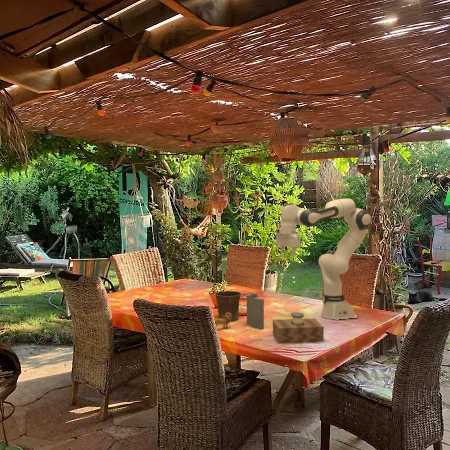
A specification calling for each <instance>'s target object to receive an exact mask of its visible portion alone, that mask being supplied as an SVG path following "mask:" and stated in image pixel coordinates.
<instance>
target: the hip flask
mask: <svg viewBox="0 0 450 450" xmlns="http://www.w3.org/2000/svg"><path fill="white" fill-rule="evenodd" d="M264 301H265V298H261V297H258V292H254V291H253V292H250V293H247V294H246V324H247V325H248V326H250V327H252V328H254V329H257V330H260V331H261V330H264V329H265V314H264V313H265V302H264Z"/></svg>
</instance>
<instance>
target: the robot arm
mask: <svg viewBox="0 0 450 450" xmlns="http://www.w3.org/2000/svg"><path fill="white" fill-rule="evenodd" d="M280 212H281V213H280V221H281V223H280V227H278V228H276V229H275V244H276V246H277V245H278V246H279V247H280V250H281V254H285V253H286V249H285V247H287V248H291V250H292V251H290V255H291V256H295V255H296V250H297V249H300V248H301V246H302V244H301V243H302V242H301V237H300V233H299V232H298V231H296V230H297V225H298V226H299V225H300V226H305V227H308V228H310V227H315V225H317V224H318V223H319V222H321V221H324V220H329V219H339V218H341V220H342V221H343V223H345V224H347V225H350V226H349V230H348V231H347V232H346V233H345V234H344V235H343V236H342V237H341V239H340V240H339V241H338V243H337V245H336V247H337V248H336V251H335V252H334V254H332V253H324V254H322V255H320V256H319V257H318V265H319V267H320V270H321V274H322V280H323V293H322V305H323V306H322V309H321V314H320V316H321V317H322V318H324V319H329V320H333V319H335V320H334V321H340V320H339V319H346V318H353V317H355V315H356V313H355V309H354V307H353V306H352V305H351V304H350V303H349V302H347V300H348V296H347V295H344V294H342V293H343V291H342V290H343V282H342V280H341V277H340V275H344V274H346V273H347V272H348V271H349V266H350V265H349V263H350V259H351V258H352V256H353V254H354V253H355V251H356V250H357V249H358V248H359V246H361V244H362V242H363V241H364V239H365V238H366V235H367V229H368V228H369V227H370V225H371V223H372V221H373V220H372V219H373V216H372V213H371V212H369V211H368V210H367V209H362V208H358V207H357V208H356V203H355V201H354V200H353V199H351V198H347V197H346V198H338V199H334V200H331V201H328V202H326V204H325V205H324V208H322V209H318V210H316V209H311V208H310V209H307V208H305V209H304V208H301V207H299V206H298V205H296V204H295V203H292V202H291V203H285V204H283V205H282V206H281V211H280ZM346 320H347V319H346Z"/></svg>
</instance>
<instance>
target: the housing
mask: <svg viewBox="0 0 450 450" xmlns="http://www.w3.org/2000/svg"><path fill="white" fill-rule="evenodd" d="M324 331H325V327H324V325H322V324H321V323H320V321H318V319H316V318H302V325H293V318H292V319H287V318H285V319H272V335H273V337H274V338H275V340H276V342H277V344H295V343H296V344H298V343H301V344H303V343H304V342H306V343H318V342H317V341H324V338H325V337H324V335H325V334H324V333H325V332H324Z"/></svg>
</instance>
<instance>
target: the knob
mask: <svg viewBox="0 0 450 450" xmlns="http://www.w3.org/2000/svg"><path fill="white" fill-rule="evenodd" d="M290 316H291V317H292V319H293V325H302V319H303V317H304V318H305V314H304V312H298V311H297V312H291V314H290Z"/></svg>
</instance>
